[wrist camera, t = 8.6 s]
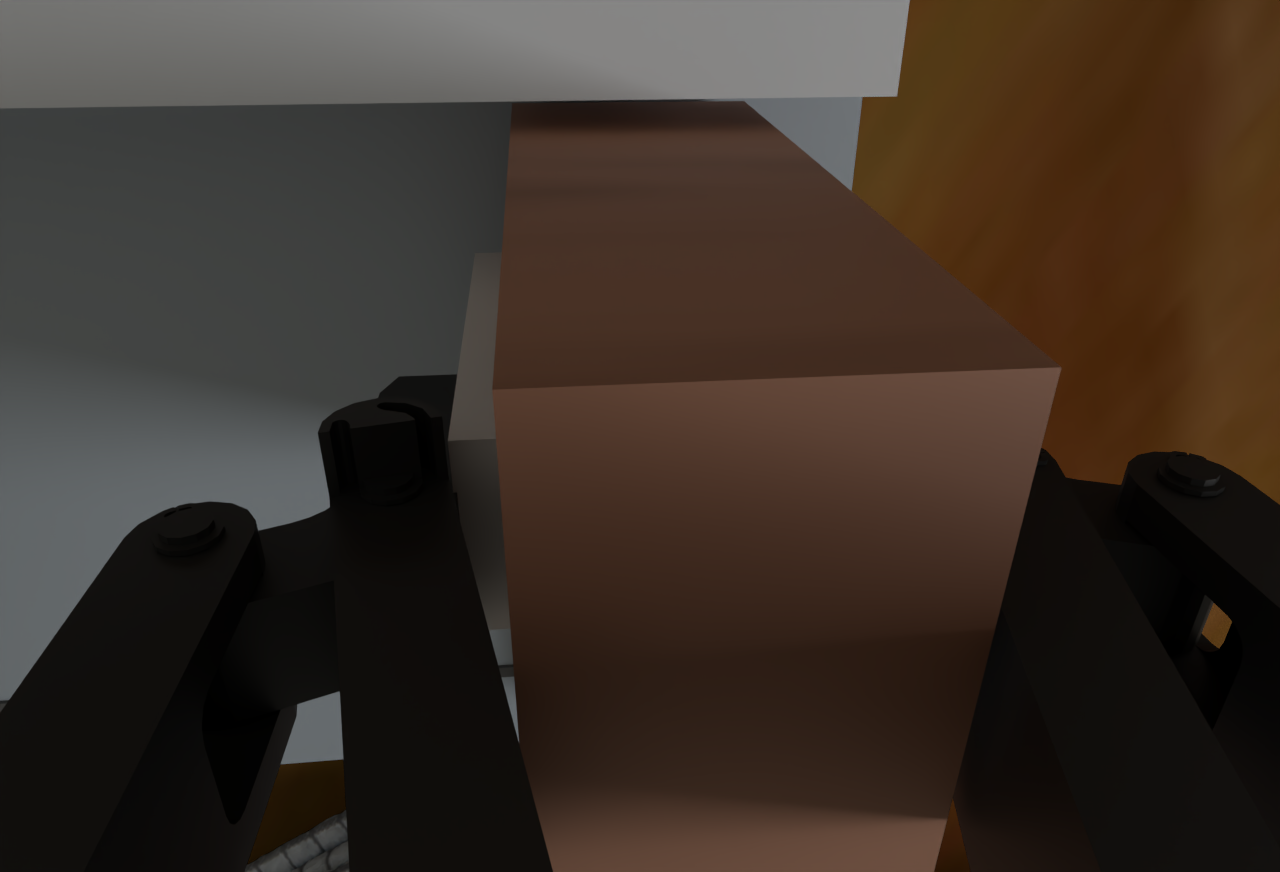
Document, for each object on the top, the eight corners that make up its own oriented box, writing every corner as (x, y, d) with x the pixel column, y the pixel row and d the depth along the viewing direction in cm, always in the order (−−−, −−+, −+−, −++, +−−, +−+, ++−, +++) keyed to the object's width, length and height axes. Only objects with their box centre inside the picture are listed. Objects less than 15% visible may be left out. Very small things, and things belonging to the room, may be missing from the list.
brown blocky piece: (708, 698, 23) (838, 1252, 13) (545, 710, 23) (561, 1290, 13) (744, 100, 16) (1061, 366, 7) (512, 103, 16) (491, 389, 6)
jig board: (768, 658, 27) (821, 819, 22) (-213, 729, 24) (-396, 929, 19) (836, -51, 18) (948, -39, 13) (-695, -54, 15) (-1243, -41, 11)
